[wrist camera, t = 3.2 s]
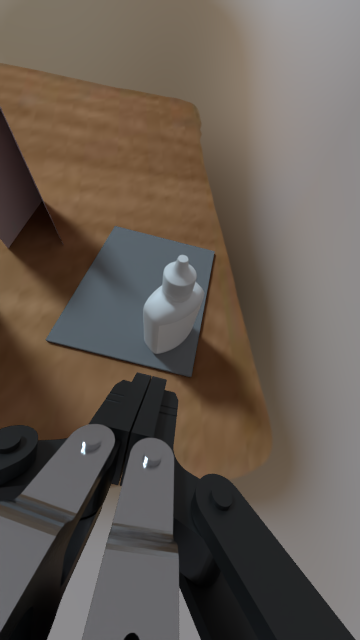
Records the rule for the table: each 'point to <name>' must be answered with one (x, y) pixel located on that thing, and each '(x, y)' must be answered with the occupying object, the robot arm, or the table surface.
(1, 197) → the greeting card
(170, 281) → the eye dropper bottle
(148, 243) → the mat
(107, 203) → the table surface
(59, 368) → the table surface
